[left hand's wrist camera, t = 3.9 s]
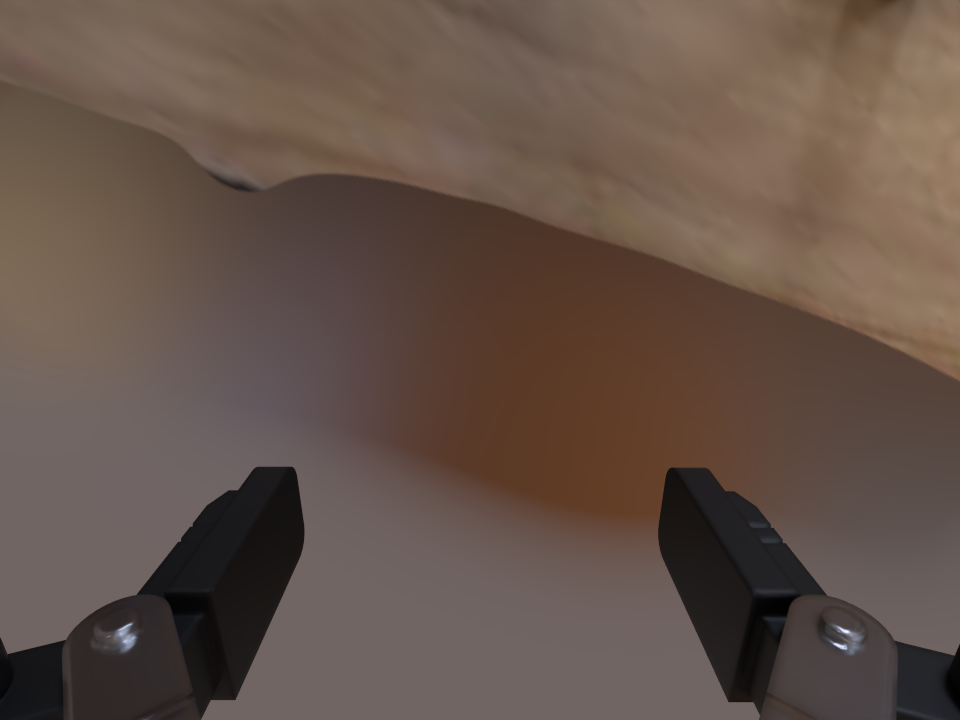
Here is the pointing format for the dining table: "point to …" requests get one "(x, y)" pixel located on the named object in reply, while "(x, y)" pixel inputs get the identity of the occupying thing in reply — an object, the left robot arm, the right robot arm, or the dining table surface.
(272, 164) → the dining table surface
